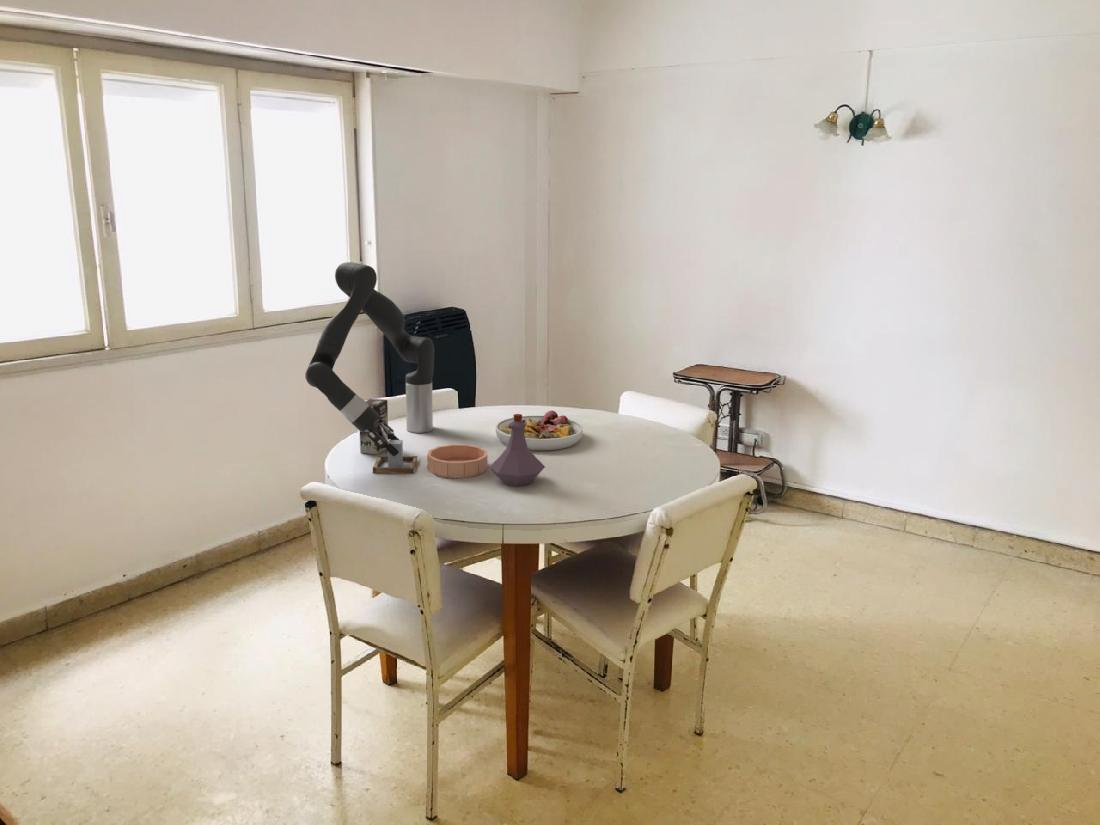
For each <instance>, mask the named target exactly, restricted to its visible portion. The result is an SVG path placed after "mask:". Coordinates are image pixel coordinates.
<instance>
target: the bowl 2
mask: <svg viewBox="0 0 1100 825" xmlns="http://www.w3.org/2000/svg"><path fill="white" fill-rule="evenodd" d="M513 421H514V416H513V417H509V418H504V419H502V420H500V421H499V422H497V423H496V425H495V434H496V437H497V438H498V440H500V442H502V443H503V444H505V445H507V446H508V443H509V440H510V436H511V428H510V426H509V424H510V423H512V422H513ZM522 421H523V422H524V423H525V424H527V425H526V427H525V429H524V435H525V439H526V443H527V447H528V449H529V450H530V451H537V452H539V451H540V452H541V451H543V452H544V451H545V452H546V451H548V452H549V451H556V450H562V449H566V448H569V447H572V446H573V445H575V444H577V443H578V442H579V441H580V439H581V438H582V436H583V431H584V430H583V429H584V427H583V426H582V424H580V422H577V421H575V420H572V419H568V417H567V416H566V415H564V414H563V415H559V414H558V413H557V411H555V410H549V411H547V412H546V413H544V415H522Z"/></svg>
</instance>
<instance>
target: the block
mask: <svg viewBox="0 0 1100 825" xmlns="http://www.w3.org/2000/svg"><path fill="white" fill-rule="evenodd" d="M389 442H390V443H391V444H392V445H393V446H394V447H395V448H396V449H397V450H398V451H399V453H398V454H397V455H396V456H392V455H391V454H390V453H389V452H388V451H387V456H388V461H387V467H403V466H404V462H403V456H404V449H403V448H404V446H403V439H399V440H390V439H389Z"/></svg>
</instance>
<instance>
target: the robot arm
mask: <svg viewBox="0 0 1100 825" xmlns="http://www.w3.org/2000/svg"><path fill="white" fill-rule="evenodd" d="M334 272H335V273H334V278H335V279H334V280H335V282H336V285H337V287H338V288H339V289H340V290H341V292H343V293H344V294H345V295H346V296H348V298H349V299H348V300H347V301H346V303H345V304H344V306H343V307H342V308H341V309H340V310H339V311H338V312H337V313H335V314H334V316H333V317H331V319H329V321H328V322H327V323H326V325H325V326H324V328H323V329H322V332H321V334H320V336H319V340H318V343H317V345H316V349H315V352H314V354H313V355H312V358H311V360H310V362H309V364H308V367H306V368H307V369H306V371H305V380H306V382H307V383H308V384H309V386H311V387H313V388H317V389H318V391H319V392H321V393H322V394H323V395H324V396H325V397H326V398H327V400H328V401H329V402H330V404H331V405H332V406H334V407H335V408H336V409H337V410H338V411H339V412H340V413H341V414H342V415H343V417H344V418H345V419H346V420H348V421H349V422H350V423H351V425H353V426H354V427H355V428H356V429H357V430H358V431H359V433H360V432H364V431H365V430H368V431H369V432H370V433H369V434H368V435H367V436H368V437H369V438H370V439H371V440H372V441H373V442H374V443H375V444H376V445H377V446H378V447H379V448H380V449H385V450H386V451H387V453H388V452H389V453H390V454H391V455H392V456H396V455H397V454H398V453H399V451H398V450H397V449H396V448H395V447H394V446H393V445H392V444H391V443H390V442H389V440H400V438H398V437H397V436H396V435H395V431H394V429H393V428H392V427H391V426H389V424H388V425H387V424H386V423H385V422H384V421H383V420H382V419H379V420H378V421H377V420H376V419H377V418H378V417H379V414H378V413H377V412H376V411H375V410H374V409H373V408H372V407H371V406H370V405H368V404H367V403H366V402H365V401H366V400H364V399H363V398H362V397H360V396H359V395H358V394H356V392H354V390H352V388H350V386H348V385H347V384H345V383H344V382H343V380H342V379H341V378H340V376H338V375H337V374H336V372H335V371H334V366H335V364H336V361H337V359H338V358H339V356H340V354H341V352H342V351H343V347H344V344H345V342H346V340H347V338H348V335H349V333H350V331H351V329H352V327H353V325H354V324H355V322H356V320H357V319H358V318H359V316H360V314H361V312H362V311H363V313H364V314H365V315H366V316H367V317H368V318H369V319H370V320H371V321H372V323H373V324H374V325H375V326H376V328H377V329H378V330H379V331H380V332H382V333H383V334H384V336H385V337H386V338H387V340H388V341H389V342H390V344H392V346H393V347H394V349H395V350H396V352H397V353H398V355H399V357H400V358H401V359H402V360H403V361H405V362H407V363H409V364H410V363H412V364H417V369H416V370H415V371H411V372H408V373H407V374H405V410H406V411H405V412H406V414H405V415H406V416H405V417H406V420H405V421H406V431H408V432H410V433H415V434H418V433H419V434H422V433H423V434H424V433H429V432H431V431H433V429H434V424H433V423H434V421H433V419H434V417H433V416H434V414H433V412H434V410H433V408H434V406H433V377H434V369H435V366H434V365H435V345H434V342H433V340H432V339H431V338H430V337H423V336H415V335H411V334H409V333H408V332H407V331H406V330H405V329H404V328H405V322H406V321H405V317H404V314H403V312H402V310H400V308H399V307H398V306H397V304H396V303H394V302H393V300H391V299H390V298H389V297H387V296H386V295H384V294H383V293H381V292H380V291H377V289H375V288H376V286H377V280H378V277H377V273H376V270H375V268H373V267H372V266H370V265H367V264H364V263H363V264H362V263H358V262H353V261H346V262H342V263H340V264H339V265H338V266H337V267H336V269H335V271H334Z"/></svg>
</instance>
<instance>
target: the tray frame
mask: <svg viewBox="0 0 1100 825" xmlns="http://www.w3.org/2000/svg"><path fill="white" fill-rule="evenodd" d="M418 459H419V458H418V455H403V463H404V462H408V463H409V462H411V464H410V466H409V467H406V466H405V467H403V466H402V467H388V466H382V467H381V466H380V465H381V464H382V462H388V455H378V457H377V459H376V461H375V462H374V465H373V467H372V474H414V472H415V470H416V468H417V467H416V466H417V464H418V461H419V460H418Z"/></svg>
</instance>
